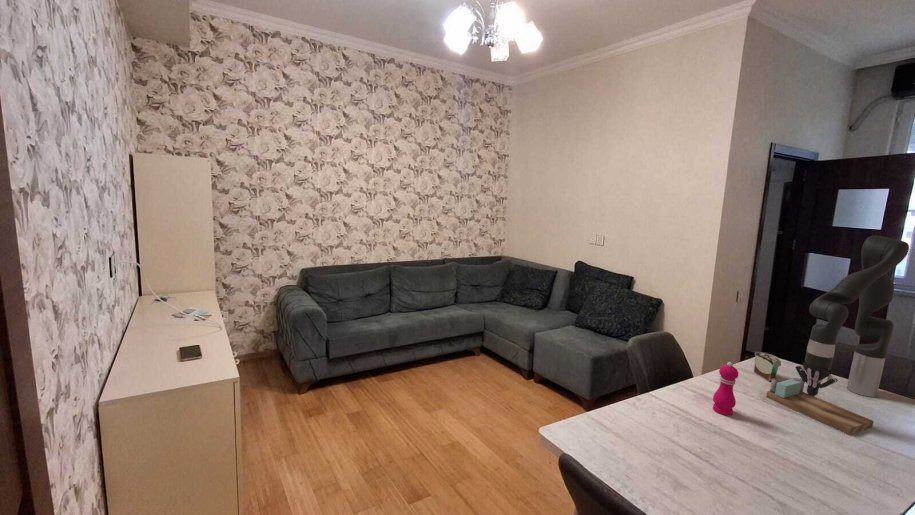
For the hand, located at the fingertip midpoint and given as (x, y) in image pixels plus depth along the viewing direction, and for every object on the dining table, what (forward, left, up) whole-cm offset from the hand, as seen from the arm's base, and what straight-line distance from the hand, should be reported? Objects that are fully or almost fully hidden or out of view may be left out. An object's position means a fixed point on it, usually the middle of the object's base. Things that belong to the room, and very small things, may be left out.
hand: (811, 395), depth 152 cm
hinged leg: (-4, -9, -4) cm, 11 cm away
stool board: (-4, 0, -7) cm, 9 cm away
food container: (-18, -25, -8) cm, 32 cm away
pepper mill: (+32, -11, -8) cm, 35 cm away
